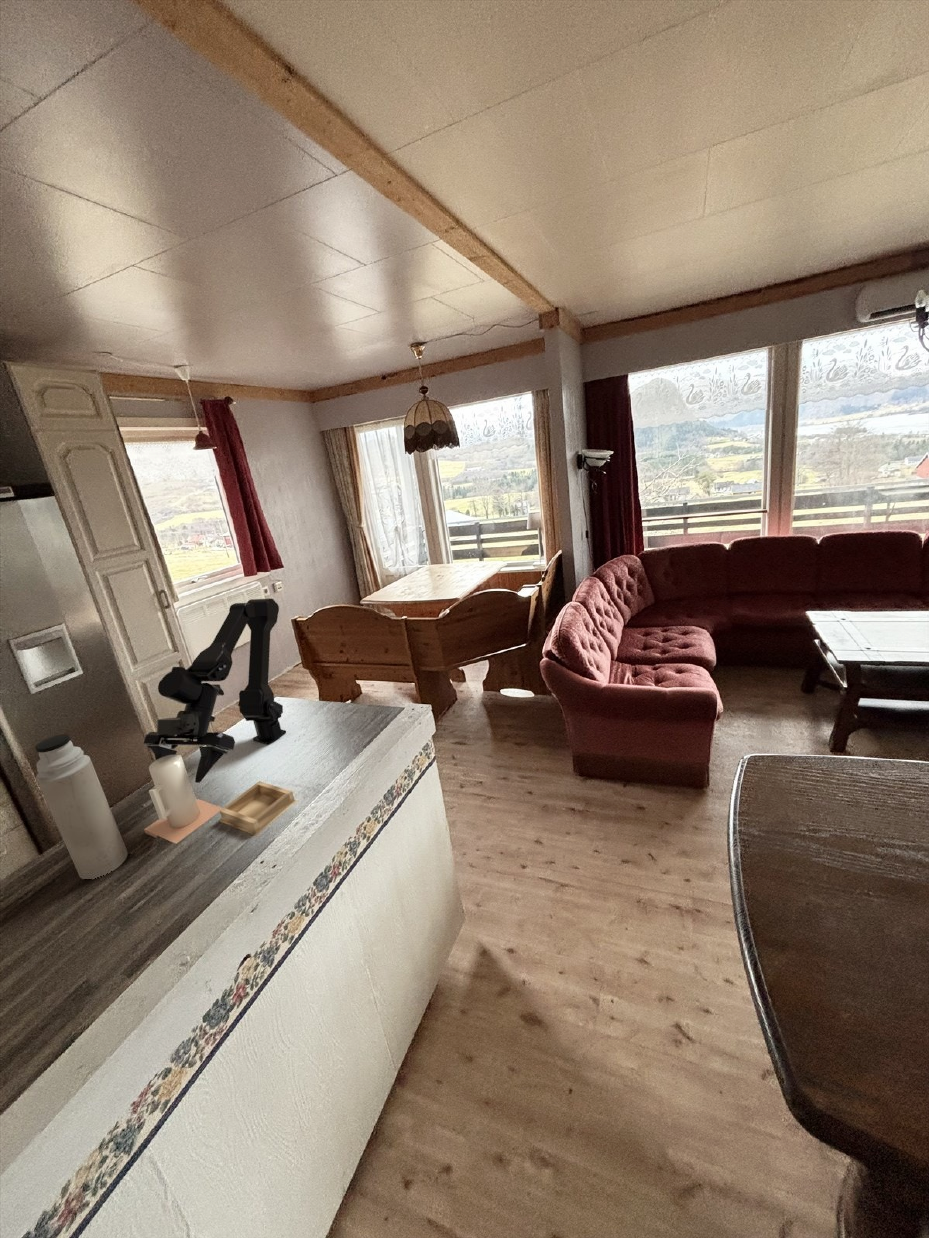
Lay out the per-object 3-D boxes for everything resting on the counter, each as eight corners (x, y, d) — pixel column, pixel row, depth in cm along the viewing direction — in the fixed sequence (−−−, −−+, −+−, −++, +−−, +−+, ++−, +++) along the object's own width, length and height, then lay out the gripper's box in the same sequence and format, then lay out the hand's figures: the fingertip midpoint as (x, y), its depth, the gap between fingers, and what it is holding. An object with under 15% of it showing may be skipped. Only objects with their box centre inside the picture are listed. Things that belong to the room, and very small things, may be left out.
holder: (220, 824, 104) (216, 811, 103) (263, 792, 114) (259, 779, 113) (257, 839, 99) (253, 825, 98) (298, 803, 108) (295, 790, 107)
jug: (183, 807, 110) (163, 753, 105) (206, 808, 108) (188, 754, 104) (155, 834, 102) (133, 777, 98) (180, 836, 101) (159, 778, 96)
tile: (145, 833, 104) (144, 829, 104) (193, 800, 113) (191, 796, 113) (177, 847, 99) (175, 843, 99) (224, 812, 108) (223, 808, 108)
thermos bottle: (101, 848, 101) (52, 729, 92) (137, 847, 100) (90, 727, 91) (68, 880, 94) (11, 753, 85) (106, 880, 93) (52, 752, 84)
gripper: (135, 699, 106) (110, 775, 99) (212, 699, 102) (190, 777, 96) (173, 713, 116) (151, 782, 109) (243, 713, 112) (226, 785, 106)
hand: (178, 781), depth 105 cm, fingers open, 9 cm apart
